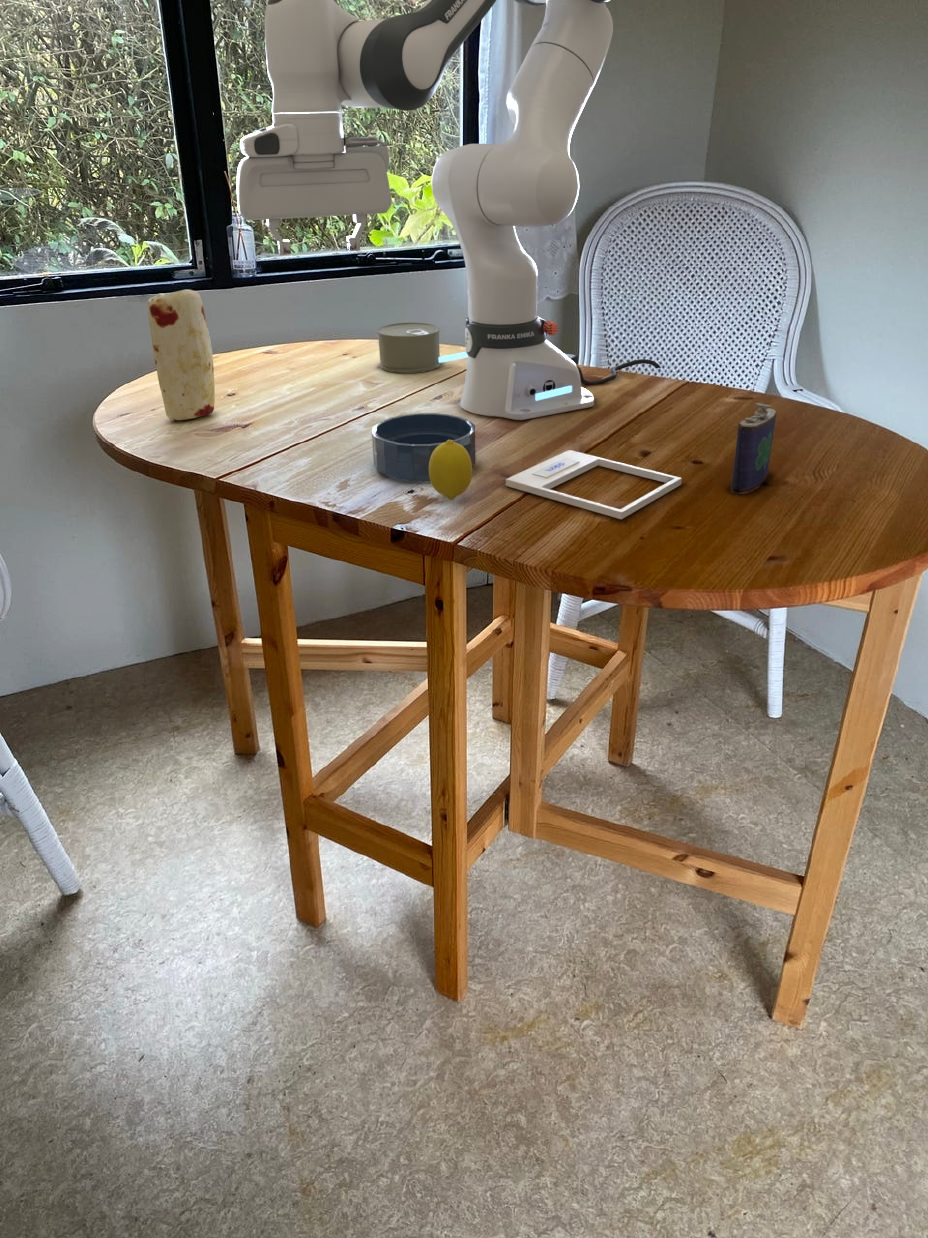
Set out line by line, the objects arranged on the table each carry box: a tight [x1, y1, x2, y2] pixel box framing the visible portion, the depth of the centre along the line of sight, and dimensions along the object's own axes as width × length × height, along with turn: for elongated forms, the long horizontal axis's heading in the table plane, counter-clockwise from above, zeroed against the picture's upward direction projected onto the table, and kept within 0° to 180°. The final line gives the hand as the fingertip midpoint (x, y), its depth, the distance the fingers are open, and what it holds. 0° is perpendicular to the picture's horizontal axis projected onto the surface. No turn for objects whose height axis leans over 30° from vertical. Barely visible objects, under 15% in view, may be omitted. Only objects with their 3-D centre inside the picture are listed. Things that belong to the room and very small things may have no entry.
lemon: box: [429, 440, 473, 501], centre depth 117 cm, size 6×6×8 cm
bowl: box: [371, 412, 476, 482], centre depth 128 cm, size 14×14×6 cm
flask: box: [730, 402, 777, 495], centre depth 119 cm, size 9×3×11 cm, turn 144°
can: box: [376, 322, 441, 374], centre depth 177 cm, size 12×12×7 cm
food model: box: [147, 289, 216, 421], centre depth 147 cm, size 10×7×20 cm
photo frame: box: [505, 449, 683, 520], centre depth 122 cm, size 15×1×18 cm
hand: (319, 252), depth 125 cm, fingers open, 8 cm apart
